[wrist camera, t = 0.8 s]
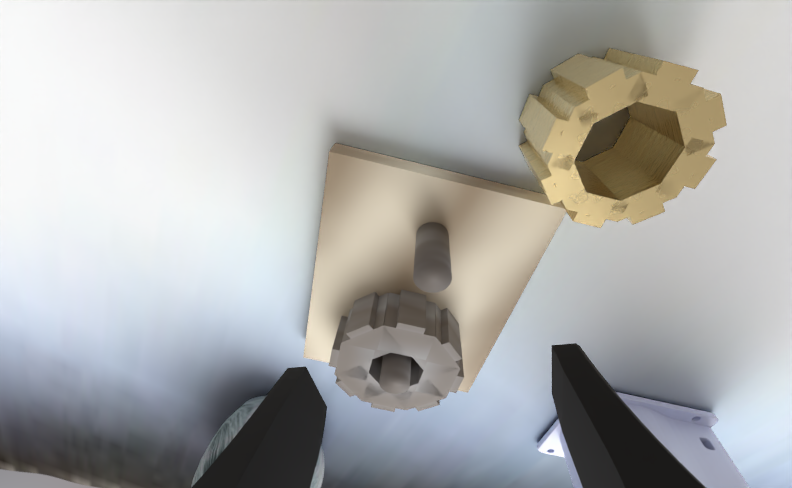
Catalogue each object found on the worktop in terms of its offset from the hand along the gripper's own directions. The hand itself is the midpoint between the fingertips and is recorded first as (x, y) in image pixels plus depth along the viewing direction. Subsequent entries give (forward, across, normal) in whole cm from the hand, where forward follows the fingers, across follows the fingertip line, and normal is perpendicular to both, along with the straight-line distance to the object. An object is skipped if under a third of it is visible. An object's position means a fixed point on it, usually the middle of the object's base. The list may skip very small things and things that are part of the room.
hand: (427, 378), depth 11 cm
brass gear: (+10, -7, -4) cm, 13 cm away
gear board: (+10, +2, +4) cm, 10 cm away
